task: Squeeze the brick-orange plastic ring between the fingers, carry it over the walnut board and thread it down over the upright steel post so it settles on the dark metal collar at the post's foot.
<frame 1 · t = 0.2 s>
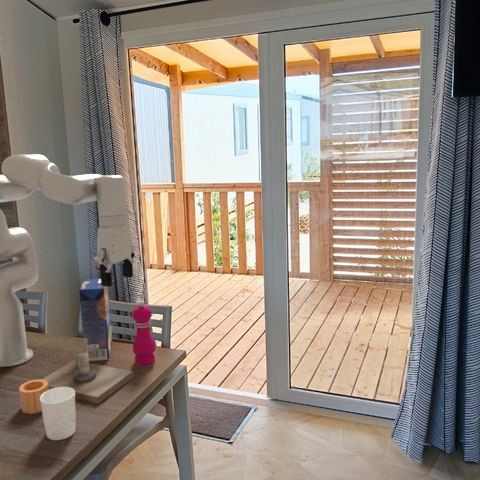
hand: (117, 281, 136), 31 cm above the table, tool pointing down, fingers open, 9 cm apart
white cup: (61, 433, 118), on the table
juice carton: (99, 353, 163), on the table
ring: (35, 406, 130), on the table
post board: (85, 383, 142), on the table
pepper mill: (145, 361, 157), on the table
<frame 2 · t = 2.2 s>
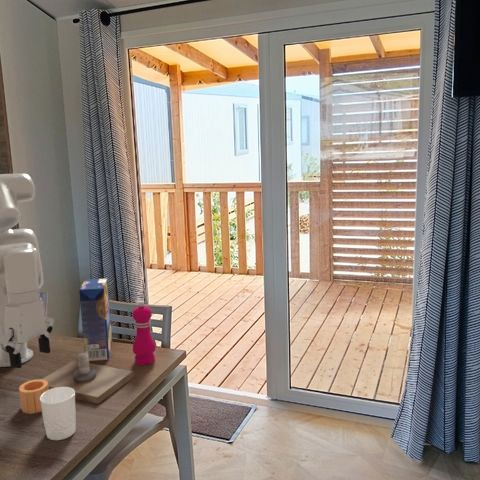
hand: (31, 359, 127), 14 cm above the table, tool pointing down, fingers open, 9 cm apart
nothing on the table moved.
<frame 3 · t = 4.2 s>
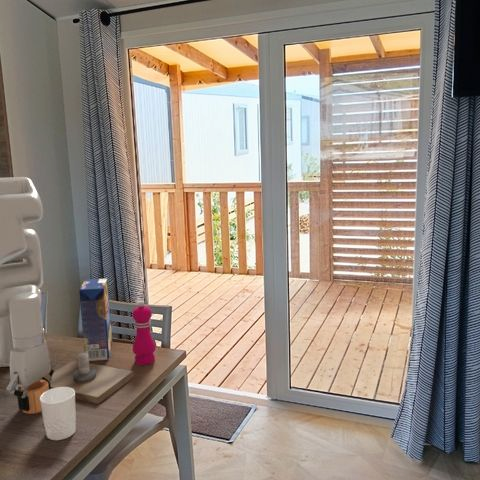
hand: (35, 402, 130), 1 cm above the table, tool pointing down, fingers closed on ring, 7 cm apart
ring: (36, 406, 130), on the table, touching gripper
everything else where it was.
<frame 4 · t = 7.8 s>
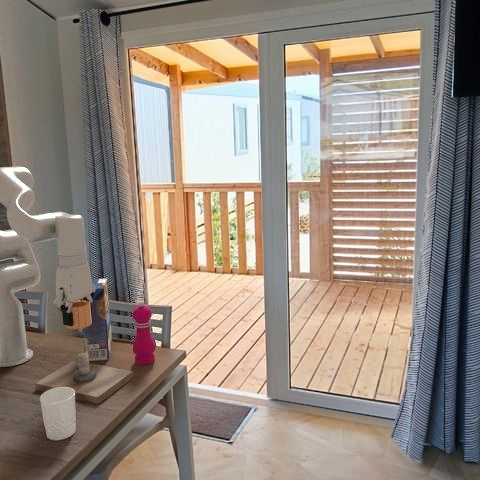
hand: (78, 320, 138), 20 cm above the table, tool pointing down, fingers closed on ring, 7 cm apart
ring: (78, 324, 138), point 18 cm above the table, touching gripper
everything else where it was.
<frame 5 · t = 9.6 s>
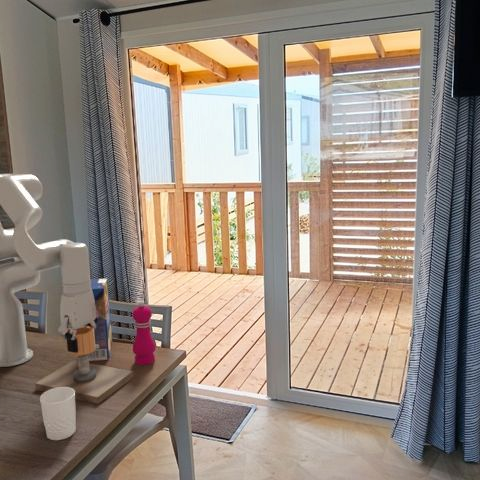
hand: (82, 346, 140), 12 cm above the table, tool pointing down, fingers closed on ring, 7 cm apart
ring: (82, 350, 140), point 10 cm above the table, touching gripper
everything else where it was.
when the fingers open (6 cm above the table, at t = 11.4 s): ring drops 1 cm, resting on post board.
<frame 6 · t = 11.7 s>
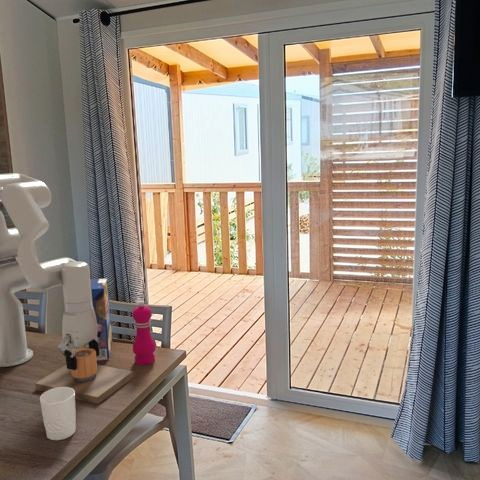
hand: (83, 361, 141), 7 cm above the table, tool pointing down, fingers open, 9 cm apart
ring: (84, 372, 142), point 3 cm above the table, touching post board
everything else where it was.
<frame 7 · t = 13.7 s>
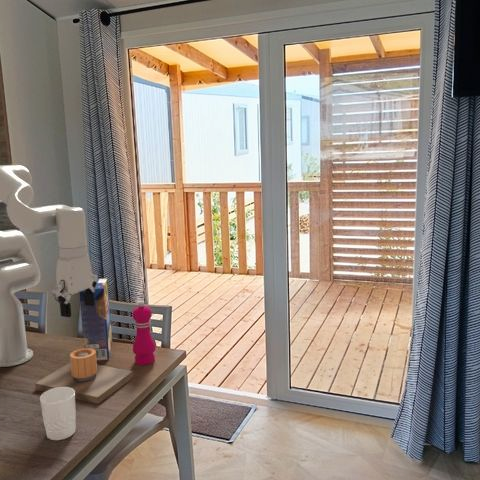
hand: (78, 310, 138), 22 cm above the table, tool pointing down, fingers open, 9 cm apart
nothing on the table moved.
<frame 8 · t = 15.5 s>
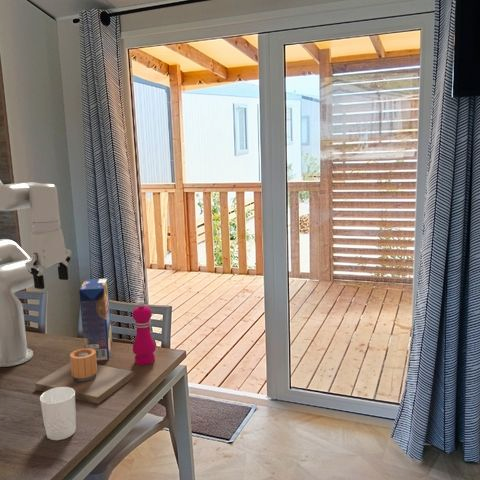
hand: (51, 283, 144), 28 cm above the table, tool pointing down, fingers open, 9 cm apart
nothing on the table moved.
at the end: ring 0.0 cm from the post board (horizontally); ring point 3.5 cm above the table; the gripper is holding nothing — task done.
